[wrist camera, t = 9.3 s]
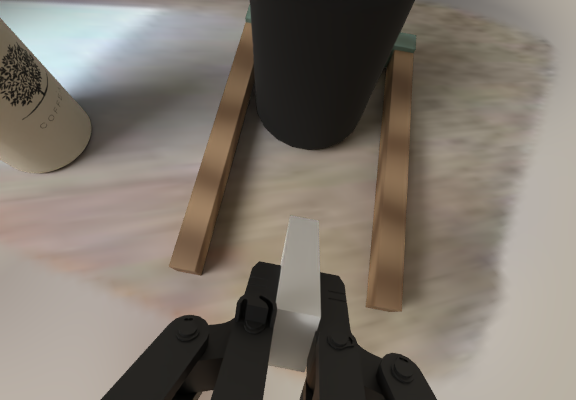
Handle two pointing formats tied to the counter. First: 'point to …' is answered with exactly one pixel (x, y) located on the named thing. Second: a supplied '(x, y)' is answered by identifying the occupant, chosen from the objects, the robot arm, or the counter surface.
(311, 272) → the robot arm
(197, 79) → the counter surface
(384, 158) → the bay
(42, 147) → the travel mug
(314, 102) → the coffee jar
